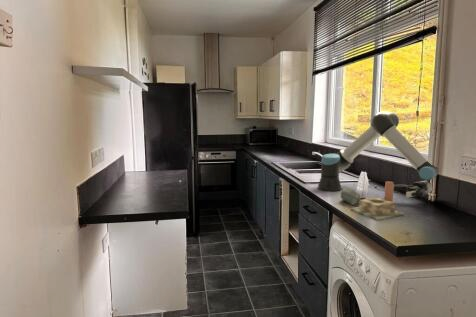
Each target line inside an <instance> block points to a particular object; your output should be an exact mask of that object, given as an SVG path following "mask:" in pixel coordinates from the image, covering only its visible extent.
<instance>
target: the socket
mask: <svg viewBox="0 0 476 317" xmlns="http://www.w3.org/2000/svg"><path fill="white" fill-rule="evenodd" d="M358 204H359V206H357V207H356V206H355V207H351V208H350V211H352V212H354V211H355V213H358V214H360V215H362V214H363V216H365V217H368V218H371V219H373V220H375V221H376V220H377V221H380V220H381V221H382V220H385V219H391V218H396V217H401V216H404V215H405V213H404V212H401V211H398V210H396V202H394V201H393V202H391V201H387V200H385V198H380V197H377V196H375V197H372V198H371V197H370V198H364V199H363V198H362V199H360V200H359V202H358Z"/></svg>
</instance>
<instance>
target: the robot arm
mask: <svg viewBox="0 0 476 317" xmlns="http://www.w3.org/2000/svg"><path fill="white" fill-rule="evenodd" d="M399 124H400V118H399V116H398V114H396V113H395V112H392V111H380V112H377V113H376V114H374V116H373V117H372V119H371V123H370V126H369V127H368V128H367V129H366V130H365V131H363V133H362V134H361V135H359V136H358V137H357V138H355V140H354V141H352V143H350V144H349V145H348V146H347V147H346V148H345V149H340V150H339V151H338V152H336V153H326V154H323V155H322V156H321V160H320V162H321V163H320V164H321V166H320V167H321V168H320V170H321V171H320V178H319V183H318V185H317V189H319V190H321V191H324V192H338V191H342V185H341V180H340V172H341V171H346V170H347V169H348V168H349V167H350V166H351V164H353V163H354V159H355V158H356V157H357V156H359V155H360V154H361V153H362V152H363V151H364V150H366V149H367V148H368V147H369V146H370V145H372V144H373V142H375V141H376V140H378V138H381V137H382V138H386V140H387V141H388V142H389V143H390V144H391V145H392V146H393V147H394V148H395V149H396V151H398V152H399V153H400V155H402V156H403V158H404V159H405V160H406V161H407V162H408V163H409V164H410V165H411V166H412V167H413V168H414V169H415V170H416V171H417V173H418V175H419V177H420V178H421V179H422V180H420V181H415V182H413V183H412V184H411V185H410V184H409V185H407V184H394V186H393V192H394V191H402V192H403V191H404V192H405V198H411V197H420V198H422V197H424V195H428V194H432V193H431V192H432V190H433V187H432V185H431V183H430V180H431V179H433V178H435V177H436V176H437V175H438V172H439V171H438V168H437V167H435V166H434V165H431V164H430V163H429V162H428V159H426V157H424V156H423V154H422V153H420V151H419V150H418V149H417V148H416V147H415V146H414V145H413V144H411V142H410V141H409V140H408V139H407V138H406V137H405V136H404V135H403V134H402V133H401V132H400V131H399V130H398V129H397V127H399V126H398V125H399Z"/></svg>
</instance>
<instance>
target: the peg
mask: <svg viewBox="0 0 476 317" xmlns="http://www.w3.org/2000/svg"><path fill="white" fill-rule="evenodd" d="M394 183H395V182H393V181H385V185H384V200H387V201H391V202H394V201H393V200H394V191H393V186H394V185H395V184H394Z"/></svg>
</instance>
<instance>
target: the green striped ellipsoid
mask: <svg viewBox="0 0 476 317" xmlns="http://www.w3.org/2000/svg"><path fill="white" fill-rule="evenodd" d="M340 198H341V200H342V201H343V202H346V203H348V204H349V205H351V206H355V205H357V204H359V203H360V200H361V195H360V193H359V192H358V191H357V190H355V189H353V188H350V187H345V188H343V189H341V190H340Z"/></svg>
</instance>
